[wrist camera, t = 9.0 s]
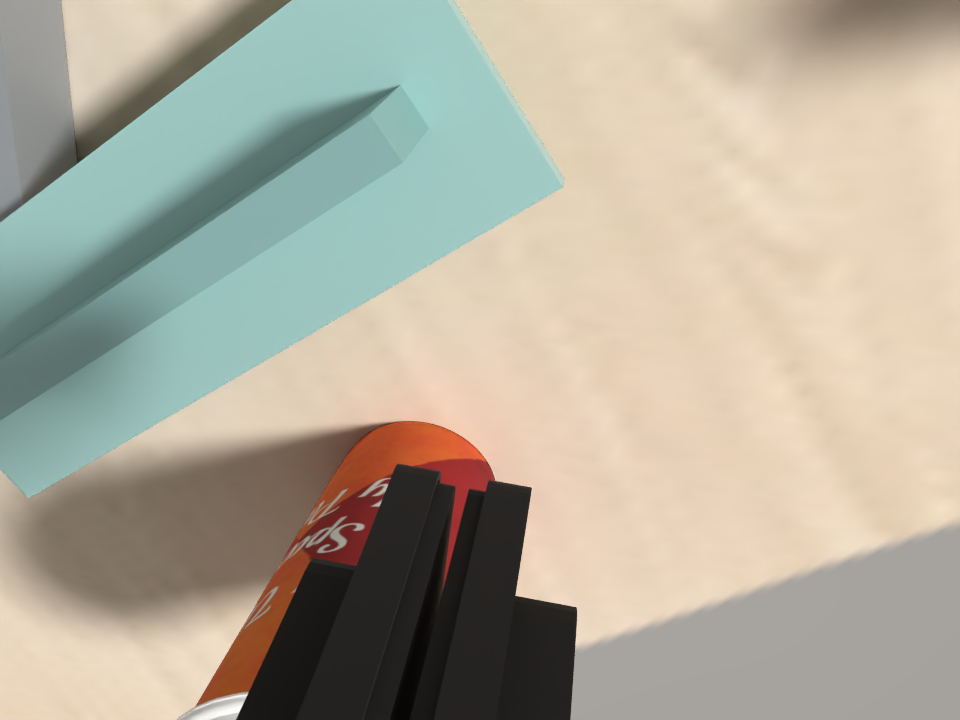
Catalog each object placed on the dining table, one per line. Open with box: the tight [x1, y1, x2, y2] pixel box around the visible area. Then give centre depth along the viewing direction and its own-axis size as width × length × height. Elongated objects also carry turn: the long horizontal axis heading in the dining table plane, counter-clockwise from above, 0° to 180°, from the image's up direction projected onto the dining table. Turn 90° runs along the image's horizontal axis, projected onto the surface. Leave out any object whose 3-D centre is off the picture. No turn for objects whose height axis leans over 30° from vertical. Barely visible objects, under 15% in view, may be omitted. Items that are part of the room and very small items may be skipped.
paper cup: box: [177, 421, 495, 720], centre depth 26 cm, size 8×8×14 cm
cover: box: [0, 0, 564, 498], centre depth 24 cm, size 22×7×4 cm, turn 124°
